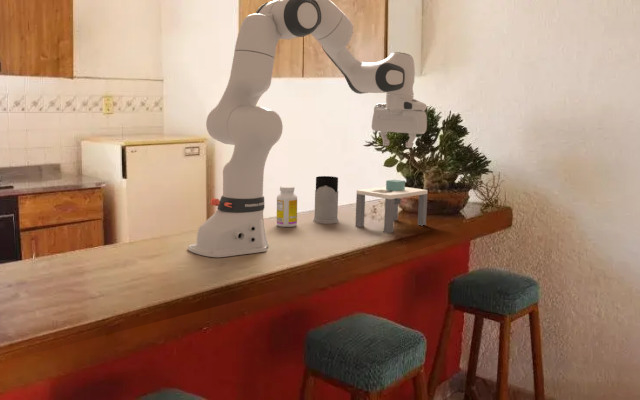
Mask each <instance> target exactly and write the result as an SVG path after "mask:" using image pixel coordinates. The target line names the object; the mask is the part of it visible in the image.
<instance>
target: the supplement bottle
mask: <svg viewBox="0 0 640 400" xmlns="http://www.w3.org/2000/svg"><path fill="white" fill-rule="evenodd" d="M279 191H280V193H278V195H277V196H276V225H277V226H278V227H281V228H292V227H296V226H297V224H298V196H297V194H295V193H294V192H295V186H293V185H281V186H280V187H279Z"/></svg>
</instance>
